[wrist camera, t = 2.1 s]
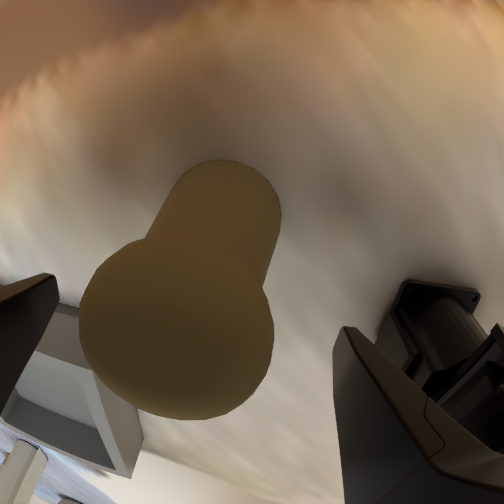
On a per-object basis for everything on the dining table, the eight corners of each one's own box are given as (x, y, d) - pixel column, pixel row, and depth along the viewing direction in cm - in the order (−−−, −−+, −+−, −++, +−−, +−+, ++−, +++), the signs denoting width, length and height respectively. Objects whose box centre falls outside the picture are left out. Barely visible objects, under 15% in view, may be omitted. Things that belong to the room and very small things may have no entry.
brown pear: (144, 212, 17) (16, 343, 7) (226, 134, 15) (135, 188, 5) (219, 288, 18) (175, 463, 8) (305, 225, 16) (346, 397, 6)
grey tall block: (31, 454, 36) (-8, 542, 17) (12, 435, 33) (-34, 526, 14) (59, 465, 35) (21, 562, 16) (39, 446, 33) (-6, 548, 13)
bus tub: (122, 319, 20) (92, 370, 15) (143, 439, 27) (130, 479, 22) (-27, 275, 20) (-61, 304, 15) (20, 393, 26) (1, 423, 22)
